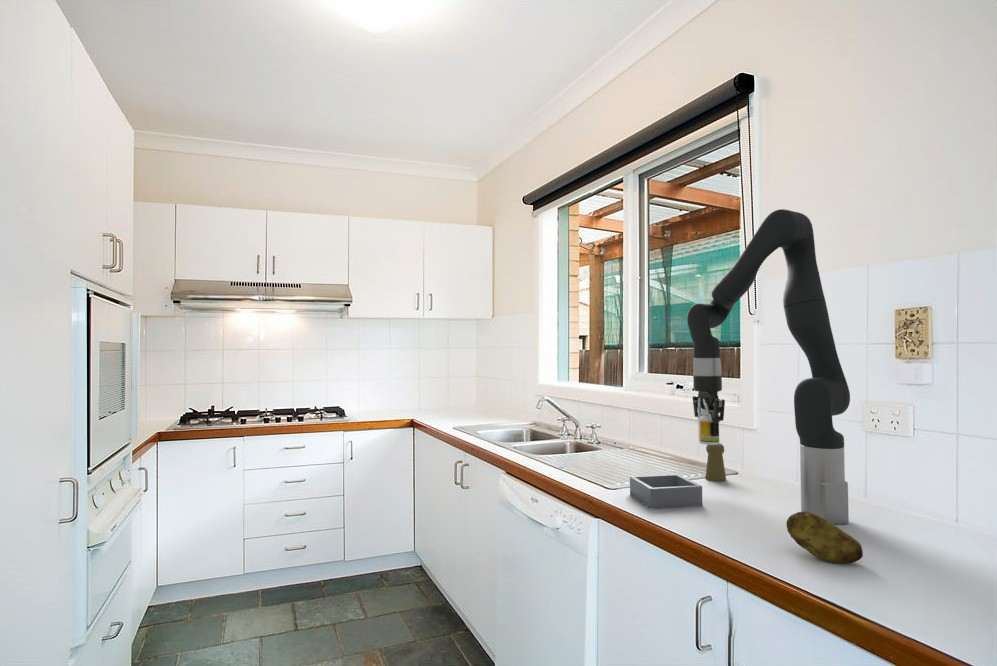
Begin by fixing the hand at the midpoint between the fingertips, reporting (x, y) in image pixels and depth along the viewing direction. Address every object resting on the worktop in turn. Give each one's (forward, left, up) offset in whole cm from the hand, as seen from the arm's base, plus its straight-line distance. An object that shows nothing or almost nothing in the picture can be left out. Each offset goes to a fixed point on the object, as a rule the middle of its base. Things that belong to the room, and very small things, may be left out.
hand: (709, 434), depth 167 cm
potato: (-51, +4, -16) cm, 54 cm away
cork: (+13, -9, -16) cm, 23 cm away
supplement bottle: (0, 0, -3) cm, 3 cm away
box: (-6, +16, -16) cm, 23 cm away
